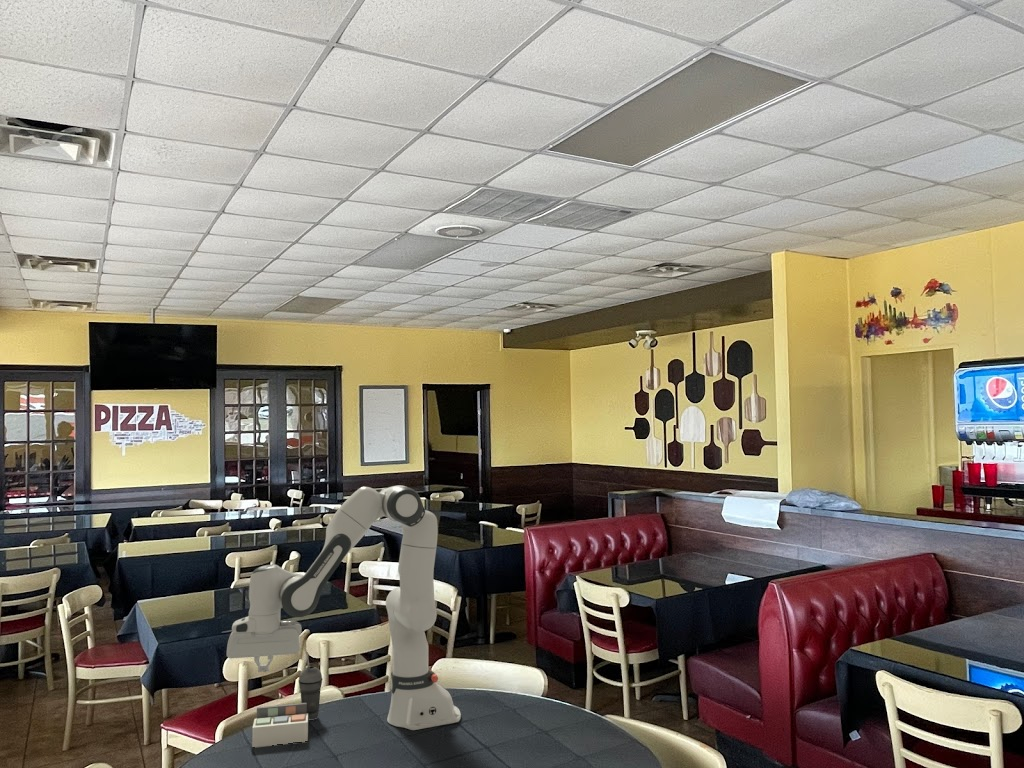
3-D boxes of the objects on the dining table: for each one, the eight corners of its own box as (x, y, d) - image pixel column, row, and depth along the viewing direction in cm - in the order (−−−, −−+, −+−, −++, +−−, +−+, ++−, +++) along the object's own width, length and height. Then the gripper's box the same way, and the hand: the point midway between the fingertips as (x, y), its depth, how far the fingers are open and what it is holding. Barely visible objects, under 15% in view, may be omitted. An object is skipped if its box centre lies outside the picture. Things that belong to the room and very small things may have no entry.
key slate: (287, 722, 221) (287, 715, 221) (287, 727, 218) (287, 720, 218) (274, 724, 220) (274, 717, 220) (273, 728, 217) (274, 721, 217)
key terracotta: (304, 721, 222) (304, 714, 223) (304, 725, 219) (304, 718, 219) (291, 722, 222) (292, 715, 222) (291, 727, 218) (291, 719, 218)
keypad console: (308, 730, 226) (308, 702, 226) (307, 741, 217) (307, 713, 218) (255, 735, 222) (255, 707, 223) (252, 747, 214) (252, 718, 214)
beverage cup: (315, 723, 231) (316, 656, 232) (293, 721, 232) (294, 655, 234) (326, 714, 238) (326, 649, 239) (304, 713, 240) (305, 648, 241)
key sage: (270, 724, 220) (270, 717, 220) (269, 729, 217) (269, 722, 217) (257, 725, 219) (257, 718, 219) (256, 730, 216) (256, 723, 216)
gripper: (302, 617, 225) (301, 665, 224) (228, 621, 220) (227, 670, 219) (301, 622, 219) (300, 671, 218) (226, 627, 214) (225, 677, 213)
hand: (263, 671), depth 219 cm, fingers closed
